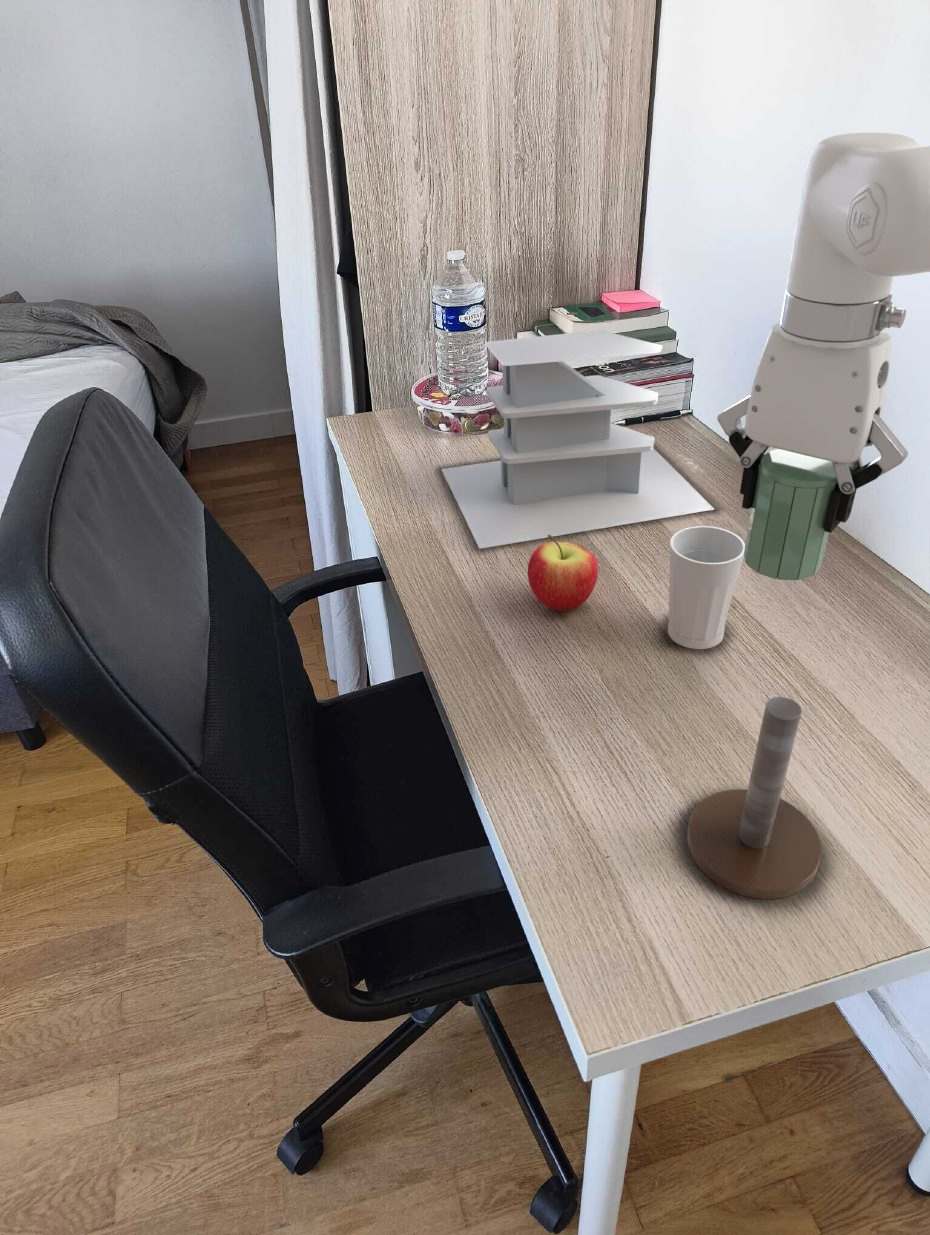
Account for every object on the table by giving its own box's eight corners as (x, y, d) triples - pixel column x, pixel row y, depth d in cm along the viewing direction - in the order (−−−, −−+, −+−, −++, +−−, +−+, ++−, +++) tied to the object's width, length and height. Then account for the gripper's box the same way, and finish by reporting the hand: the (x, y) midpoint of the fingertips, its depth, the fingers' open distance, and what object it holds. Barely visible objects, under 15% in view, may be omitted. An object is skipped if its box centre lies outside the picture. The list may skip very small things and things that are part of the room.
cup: (738, 652, 95) (754, 562, 88) (666, 654, 95) (677, 565, 88) (722, 611, 101) (735, 524, 94) (655, 613, 102) (664, 527, 95)
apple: (524, 587, 108) (523, 518, 102) (589, 582, 108) (593, 513, 102) (532, 625, 101) (531, 554, 95) (602, 620, 101) (606, 549, 95)
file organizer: (441, 469, 136) (430, 334, 123) (643, 438, 142) (654, 306, 129) (479, 548, 116) (472, 397, 103) (714, 509, 121) (735, 360, 108)
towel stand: (838, 835, 74) (882, 697, 64) (788, 923, 67) (829, 783, 58) (721, 779, 80) (745, 645, 70) (664, 855, 73) (683, 718, 64)
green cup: (831, 555, 80) (854, 459, 74) (803, 588, 76) (825, 489, 70) (762, 534, 83) (779, 441, 78) (732, 565, 79) (748, 469, 73)
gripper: (965, 319, 64) (904, 523, 74) (747, 288, 73) (720, 474, 83) (936, 348, 59) (876, 561, 70) (707, 311, 68) (684, 504, 79)
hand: (791, 512), depth 77 cm, fingers closed on green cup, 6 cm apart
